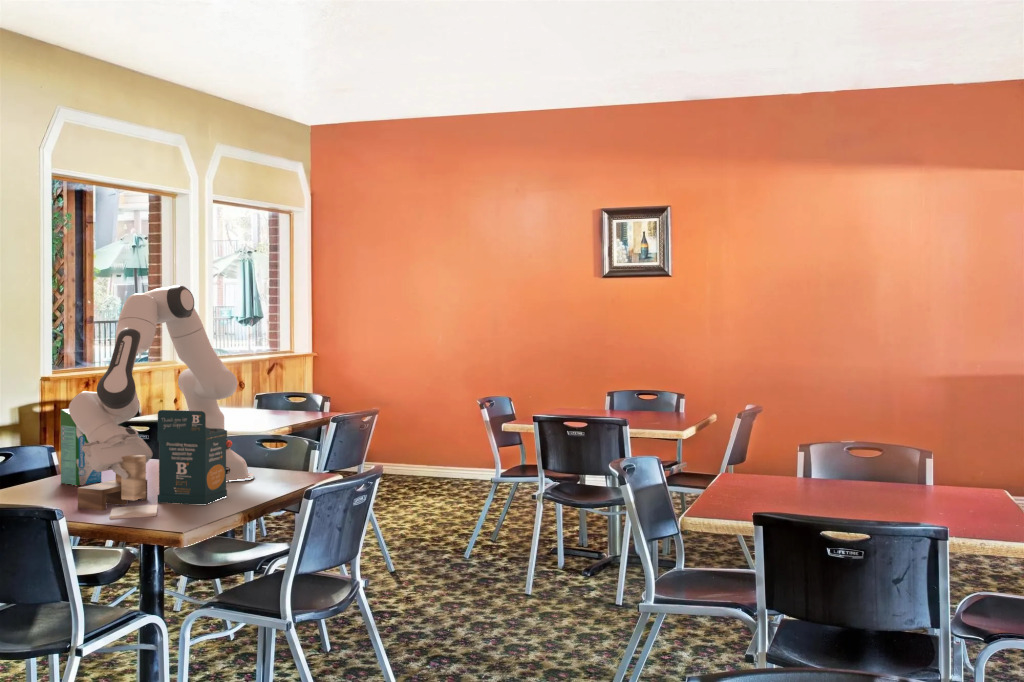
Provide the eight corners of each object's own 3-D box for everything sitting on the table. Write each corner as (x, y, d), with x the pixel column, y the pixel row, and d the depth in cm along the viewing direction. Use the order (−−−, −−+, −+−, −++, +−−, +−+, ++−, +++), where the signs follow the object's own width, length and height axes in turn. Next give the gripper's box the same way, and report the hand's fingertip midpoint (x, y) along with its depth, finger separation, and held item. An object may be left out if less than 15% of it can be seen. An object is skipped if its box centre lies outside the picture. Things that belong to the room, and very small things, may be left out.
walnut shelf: (124, 497, 274) (123, 477, 274) (147, 499, 271) (147, 479, 271) (77, 508, 257) (77, 487, 257) (102, 510, 254) (102, 489, 254)
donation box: (157, 502, 266) (157, 409, 265) (188, 492, 281) (188, 405, 281) (205, 505, 262) (205, 411, 262) (234, 495, 278) (234, 406, 277)
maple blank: (133, 496, 253) (133, 454, 253) (145, 497, 252) (145, 455, 252) (121, 499, 249) (121, 456, 249) (134, 500, 248) (134, 457, 248)
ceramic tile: (157, 507, 258) (157, 504, 258) (156, 516, 247) (156, 513, 247) (112, 510, 254) (112, 507, 254) (109, 519, 243) (109, 516, 243)
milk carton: (76, 486, 291) (76, 410, 291) (60, 483, 296) (60, 409, 296) (101, 482, 299) (101, 408, 298) (85, 479, 304) (85, 407, 303)
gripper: (85, 436, 243) (113, 474, 240) (140, 428, 262) (166, 463, 259) (73, 452, 244) (100, 489, 241) (128, 443, 264) (154, 477, 261)
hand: (135, 476), depth 250 cm, fingers closed on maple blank, 4 cm apart
